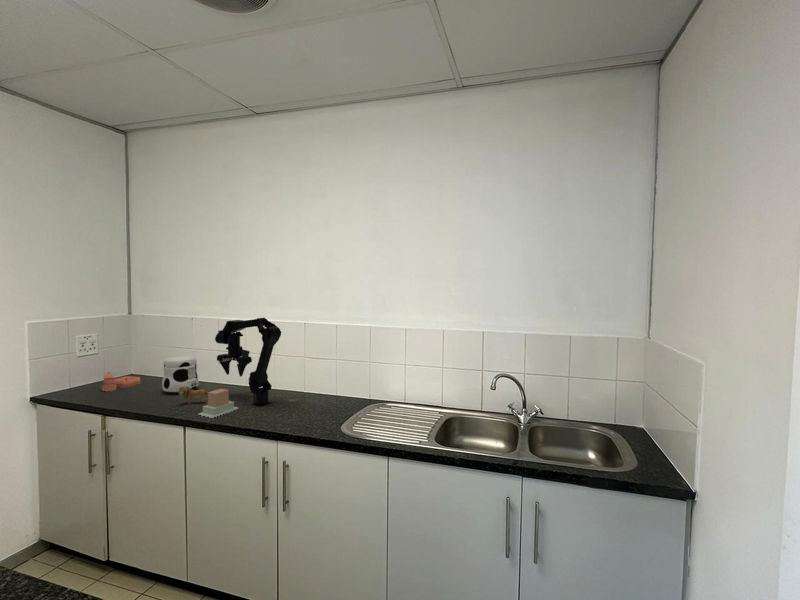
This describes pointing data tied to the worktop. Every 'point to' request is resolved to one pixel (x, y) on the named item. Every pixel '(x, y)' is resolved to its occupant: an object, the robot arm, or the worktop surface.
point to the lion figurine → (192, 394)
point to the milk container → (179, 373)
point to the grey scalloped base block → (217, 410)
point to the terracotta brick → (218, 397)
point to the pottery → (118, 382)
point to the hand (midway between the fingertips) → (234, 375)
